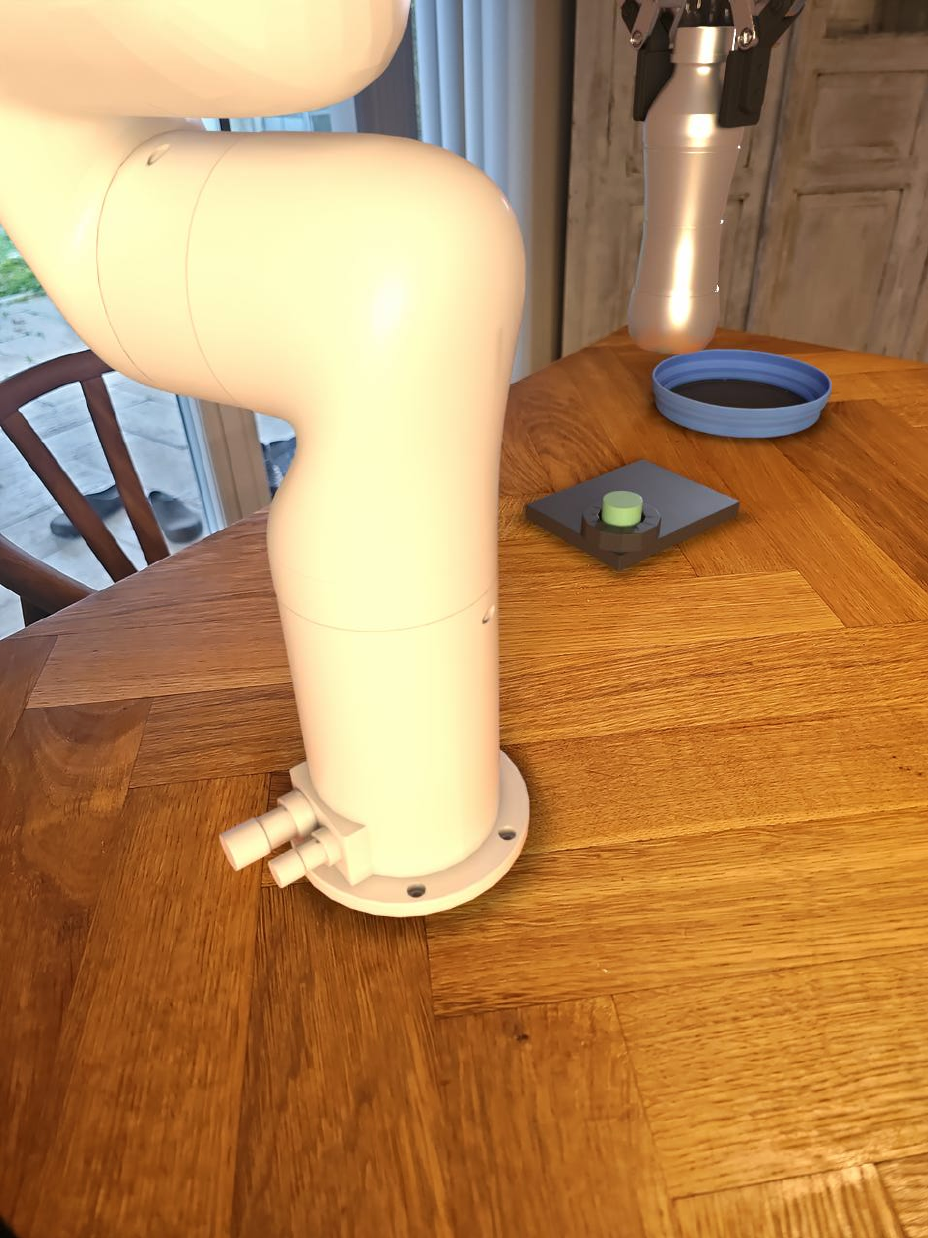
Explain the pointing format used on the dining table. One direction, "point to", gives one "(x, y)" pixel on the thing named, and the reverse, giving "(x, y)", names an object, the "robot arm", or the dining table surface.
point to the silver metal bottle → (684, 198)
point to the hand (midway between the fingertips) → (693, 119)
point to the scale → (665, 516)
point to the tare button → (622, 509)
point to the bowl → (740, 393)
